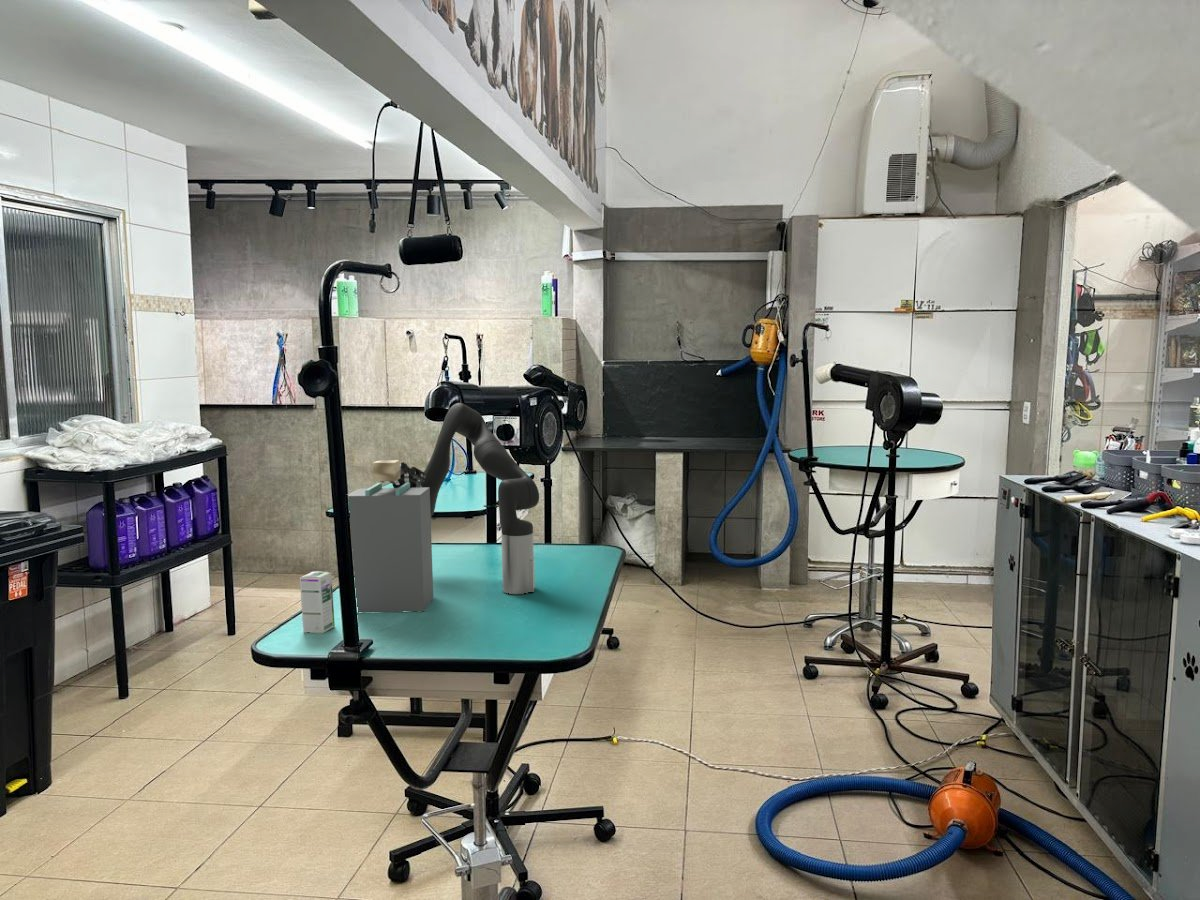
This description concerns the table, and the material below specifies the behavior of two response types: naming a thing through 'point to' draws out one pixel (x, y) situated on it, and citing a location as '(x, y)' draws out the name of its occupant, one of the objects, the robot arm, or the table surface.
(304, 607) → the syrup box
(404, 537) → the tall grey pedestal
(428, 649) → the table surface
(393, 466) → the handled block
